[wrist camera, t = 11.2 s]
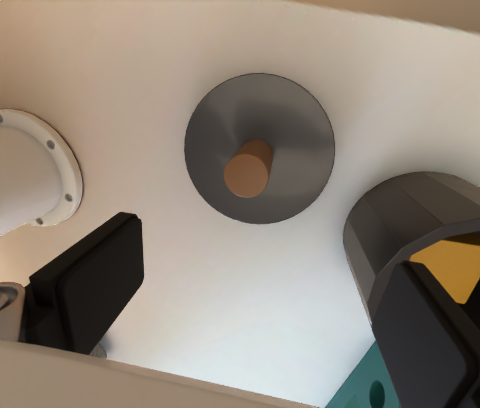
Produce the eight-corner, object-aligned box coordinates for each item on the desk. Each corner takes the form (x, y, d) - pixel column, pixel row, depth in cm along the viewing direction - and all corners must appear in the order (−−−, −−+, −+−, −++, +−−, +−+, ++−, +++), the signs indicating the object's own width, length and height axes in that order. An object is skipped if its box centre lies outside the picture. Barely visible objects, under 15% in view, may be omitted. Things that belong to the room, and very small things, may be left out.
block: (376, 256, 25) (395, 291, 21) (393, 208, 23) (419, 236, 19) (432, 265, 25) (465, 304, 20) (455, 217, 23) (497, 248, 18)
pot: (318, 253, 27) (331, 323, 18) (399, 146, 22) (466, 177, 13) (422, 306, 27) (481, 399, 19) (525, 213, 22) (665, 283, 14)
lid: (169, 181, 26) (131, 209, 20) (221, 44, 21) (192, 21, 15) (285, 240, 27) (284, 287, 20) (365, 120, 21) (398, 131, 15)
